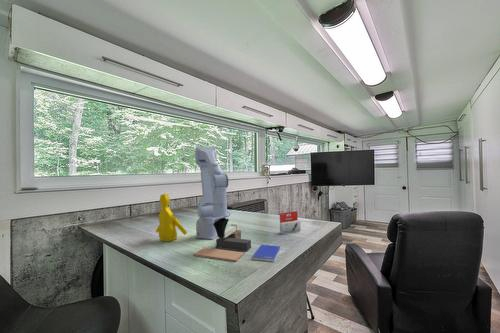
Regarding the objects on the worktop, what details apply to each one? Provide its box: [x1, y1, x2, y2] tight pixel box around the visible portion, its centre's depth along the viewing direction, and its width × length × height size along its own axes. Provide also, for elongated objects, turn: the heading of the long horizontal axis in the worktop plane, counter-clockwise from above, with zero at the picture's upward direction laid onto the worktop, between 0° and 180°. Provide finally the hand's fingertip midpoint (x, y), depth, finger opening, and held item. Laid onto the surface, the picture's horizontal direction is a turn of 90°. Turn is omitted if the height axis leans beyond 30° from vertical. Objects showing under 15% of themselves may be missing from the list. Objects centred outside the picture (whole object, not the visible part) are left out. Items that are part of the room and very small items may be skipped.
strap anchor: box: [226, 229, 242, 239], centre depth 97 cm, size 5×6×4 cm
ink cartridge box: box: [279, 210, 301, 235], centre depth 107 cm, size 2×11×10 cm, turn 115°
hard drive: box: [251, 244, 281, 263], centre depth 80 cm, size 2×8×12 cm
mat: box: [192, 247, 245, 263], centre depth 81 cm, size 18×7×1 cm, turn 68°
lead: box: [215, 237, 252, 252], centre depth 88 cm, size 14×4×4 cm, turn 68°
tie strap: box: [223, 222, 240, 238], centre depth 94 cm, size 3×13×3 cm, turn 158°
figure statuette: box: [155, 193, 188, 242], centre depth 101 cm, size 18×8×22 cm, turn 73°
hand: (220, 237), depth 87 cm, fingers closed
